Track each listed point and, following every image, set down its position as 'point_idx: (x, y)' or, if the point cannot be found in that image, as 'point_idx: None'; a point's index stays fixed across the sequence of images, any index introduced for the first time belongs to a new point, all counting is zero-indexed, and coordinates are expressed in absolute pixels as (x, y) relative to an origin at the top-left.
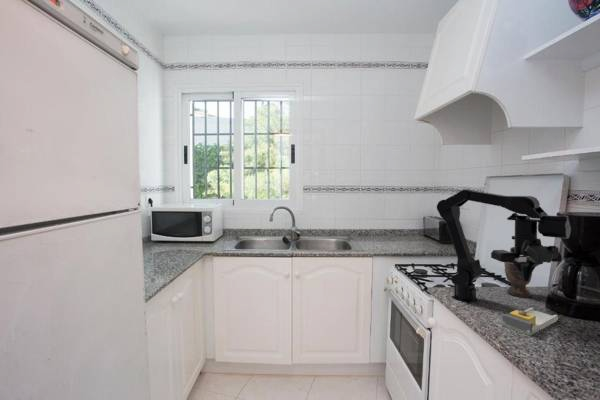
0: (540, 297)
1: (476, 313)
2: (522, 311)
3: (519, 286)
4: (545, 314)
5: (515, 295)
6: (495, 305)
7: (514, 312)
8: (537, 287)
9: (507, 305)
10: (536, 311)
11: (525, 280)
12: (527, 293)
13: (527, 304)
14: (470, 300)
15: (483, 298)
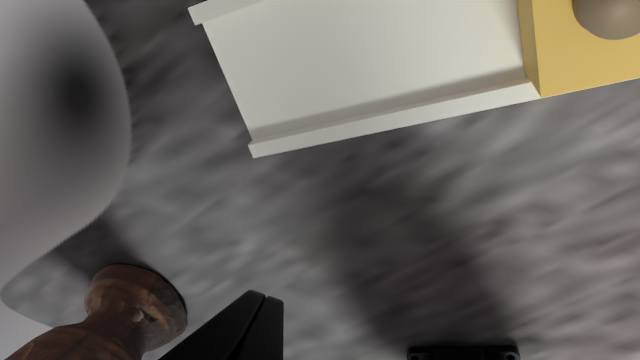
0: (69, 241)
1: (633, 249)
2: (612, 7)
3: (121, 330)
4: (236, 65)
5: (175, 296)
6: (383, 271)
7: (636, 56)
8: (10, 305)
9: (315, 246)
10: (253, 117)
11: (276, 310)
12: (114, 280)
13: (196, 215)
14: (485, 354)
15: (360, 341)
